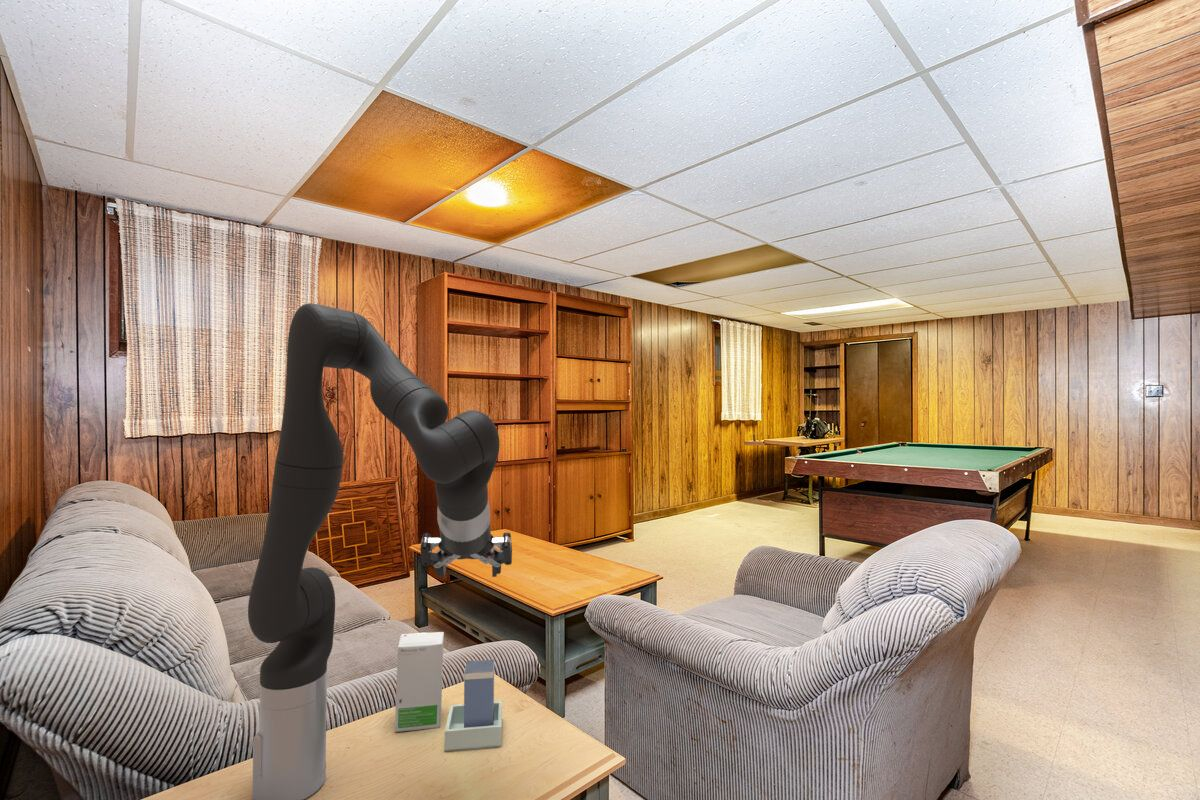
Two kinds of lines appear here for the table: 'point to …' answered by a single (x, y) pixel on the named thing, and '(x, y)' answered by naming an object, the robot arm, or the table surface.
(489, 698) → the tea box
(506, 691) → the table surface
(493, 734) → the tray
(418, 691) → the skincare box
